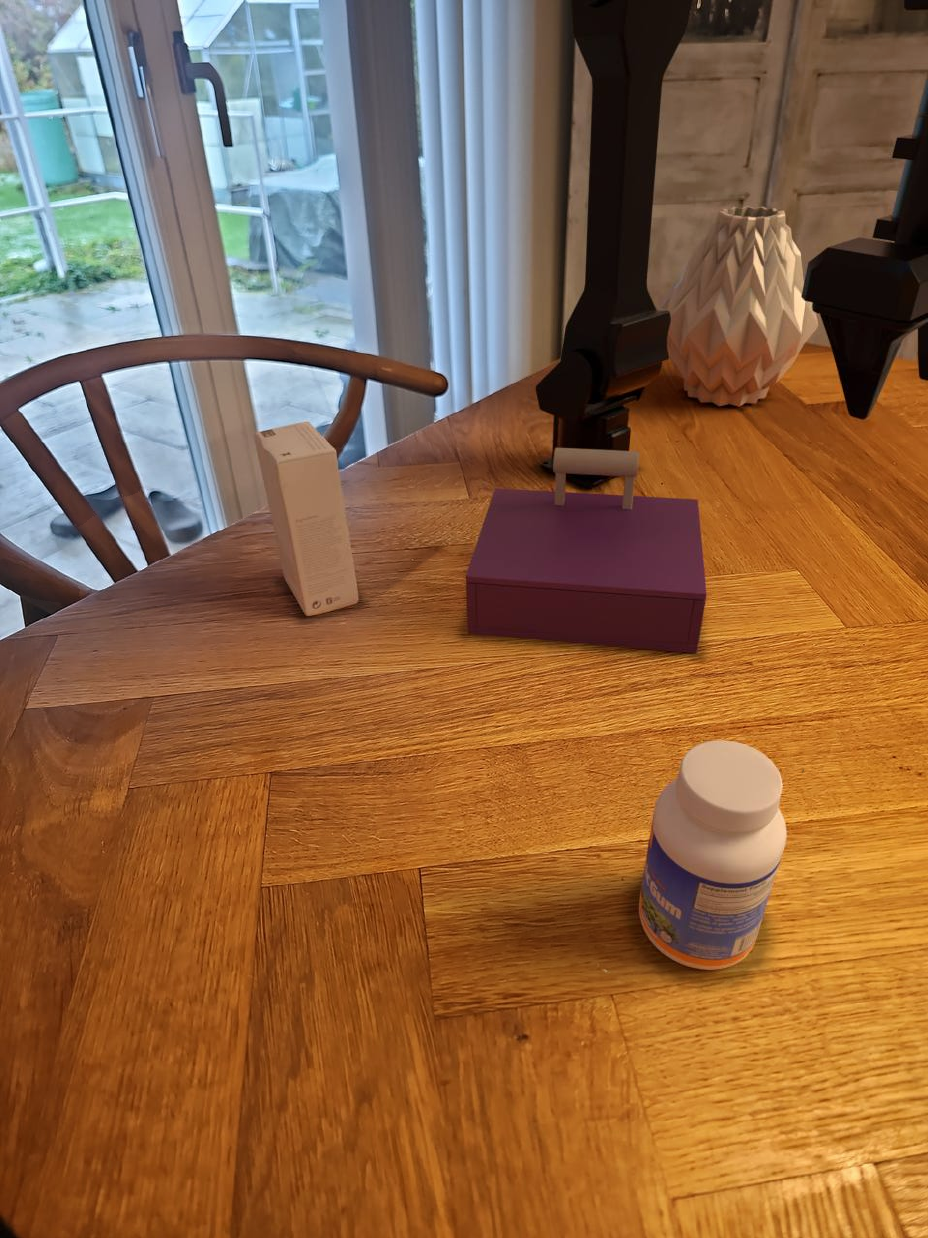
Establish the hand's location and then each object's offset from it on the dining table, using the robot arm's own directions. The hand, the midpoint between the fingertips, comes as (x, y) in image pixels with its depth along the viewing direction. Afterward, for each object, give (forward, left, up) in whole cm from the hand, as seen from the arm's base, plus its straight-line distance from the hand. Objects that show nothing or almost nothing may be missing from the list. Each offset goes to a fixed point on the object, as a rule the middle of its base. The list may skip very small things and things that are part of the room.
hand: (894, 397), depth 54 cm
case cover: (-12, -14, -10) cm, 21 cm away
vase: (-28, +26, -14) cm, 41 cm away
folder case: (-12, -15, -14) cm, 24 cm away
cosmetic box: (-26, -29, -14) cm, 41 cm away
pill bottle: (+10, -32, -14) cm, 36 cm away
